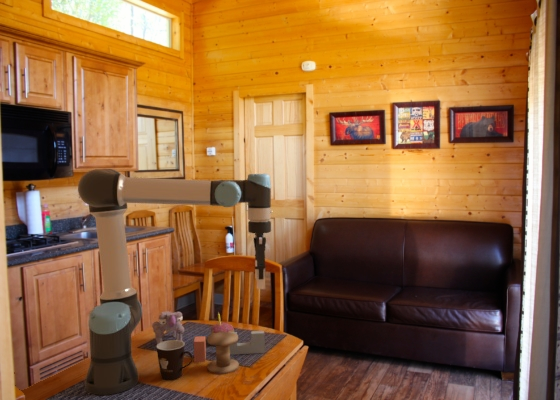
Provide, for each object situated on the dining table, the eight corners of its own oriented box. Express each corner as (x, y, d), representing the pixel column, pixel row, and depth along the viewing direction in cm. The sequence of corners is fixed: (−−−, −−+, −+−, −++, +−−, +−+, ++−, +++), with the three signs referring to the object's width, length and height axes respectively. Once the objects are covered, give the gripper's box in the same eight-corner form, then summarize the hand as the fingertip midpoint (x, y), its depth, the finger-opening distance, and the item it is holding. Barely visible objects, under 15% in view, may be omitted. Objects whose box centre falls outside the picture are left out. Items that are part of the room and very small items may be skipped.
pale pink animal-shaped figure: (191, 352, 171) (188, 314, 170) (160, 359, 167) (157, 320, 166) (179, 334, 190) (177, 300, 188) (151, 340, 186) (148, 305, 184)
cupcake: (224, 348, 175) (223, 315, 174) (206, 343, 179) (205, 311, 179) (238, 340, 182) (238, 309, 181) (220, 336, 187) (220, 306, 186)
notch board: (224, 354, 169) (223, 334, 168) (224, 352, 171) (224, 332, 171) (264, 352, 170) (264, 333, 169) (264, 350, 172) (264, 330, 172)
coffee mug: (152, 375, 152) (151, 344, 152) (177, 368, 158) (176, 338, 157) (170, 388, 144) (169, 355, 143) (195, 379, 149) (194, 347, 148)
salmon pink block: (194, 362, 163) (193, 341, 162) (195, 356, 168) (195, 336, 167) (205, 361, 163) (204, 341, 162) (206, 356, 168) (205, 336, 167)
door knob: (206, 374, 153) (205, 343, 152) (208, 362, 163) (207, 332, 162) (238, 373, 153) (238, 342, 153) (238, 360, 163) (238, 331, 163)
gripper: (273, 224, 149) (273, 293, 151) (268, 216, 174) (269, 275, 176) (248, 225, 149) (249, 293, 150) (247, 216, 174) (248, 275, 175)
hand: (260, 283), depth 163 cm, fingers open, 13 cm apart
